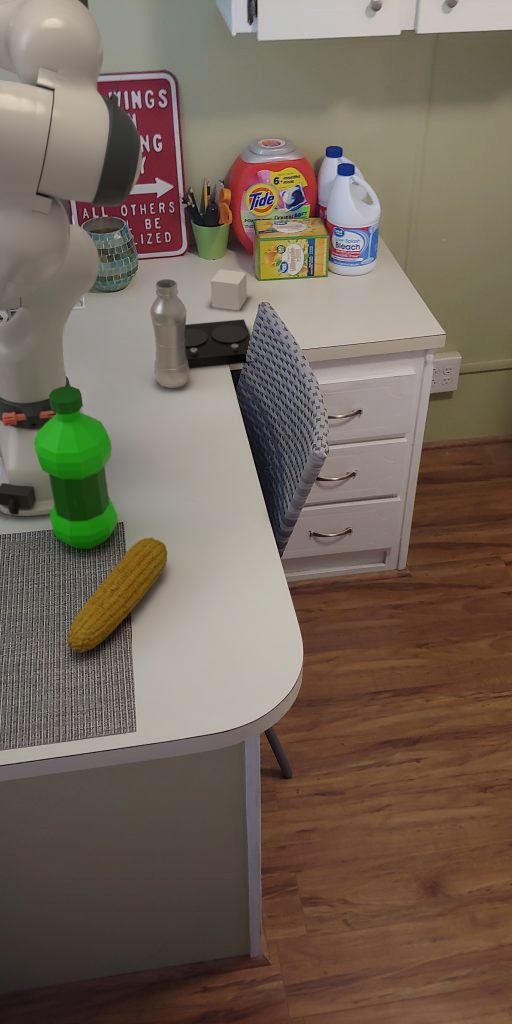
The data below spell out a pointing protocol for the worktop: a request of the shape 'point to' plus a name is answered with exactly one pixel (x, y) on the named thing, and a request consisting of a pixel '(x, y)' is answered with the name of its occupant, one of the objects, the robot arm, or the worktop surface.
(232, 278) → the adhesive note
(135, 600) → the food
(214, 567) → the worktop surface
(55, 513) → the plastic bottle
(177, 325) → the plastic bottle
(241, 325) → the hot plate
